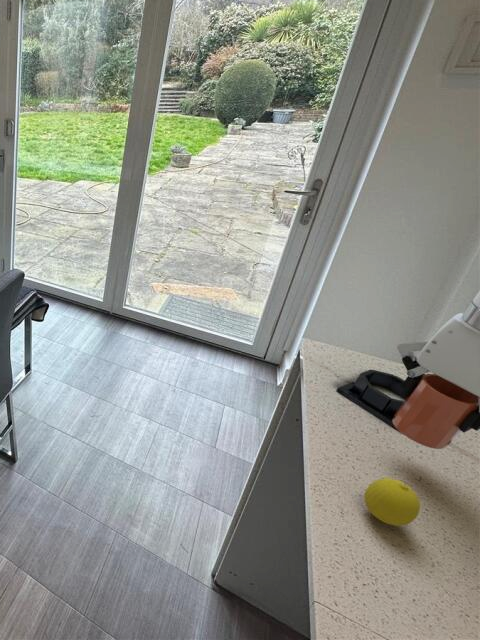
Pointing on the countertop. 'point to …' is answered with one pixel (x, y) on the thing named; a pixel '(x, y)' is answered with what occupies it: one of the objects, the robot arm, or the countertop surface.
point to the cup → (434, 411)
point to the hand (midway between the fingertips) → (435, 410)
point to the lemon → (392, 501)
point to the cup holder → (375, 394)
